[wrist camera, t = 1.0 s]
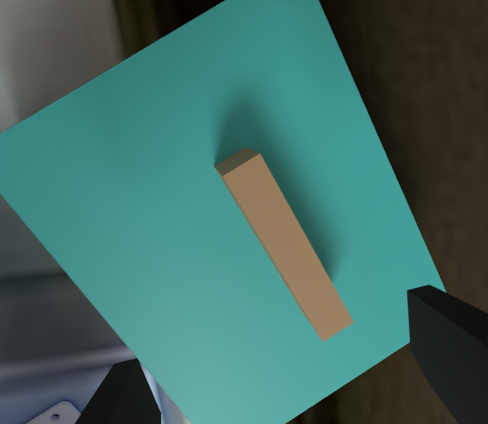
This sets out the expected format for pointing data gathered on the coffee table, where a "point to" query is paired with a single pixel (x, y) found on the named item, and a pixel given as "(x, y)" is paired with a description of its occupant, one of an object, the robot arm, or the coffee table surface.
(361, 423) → the coffee table surface
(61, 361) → the coffee table surface
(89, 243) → the lid
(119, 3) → the coffee table surface
